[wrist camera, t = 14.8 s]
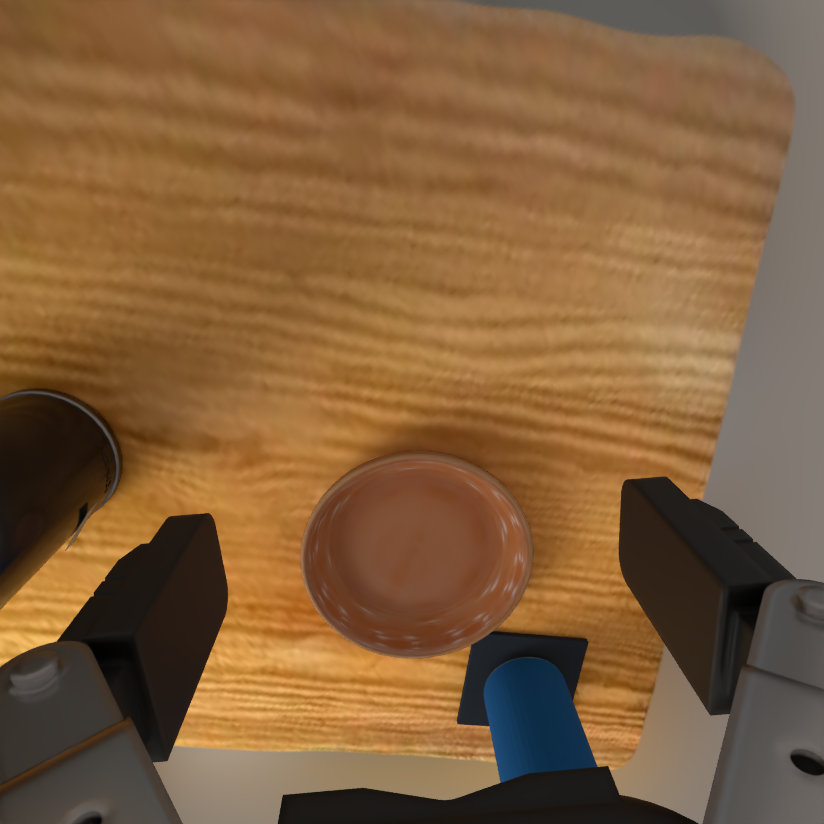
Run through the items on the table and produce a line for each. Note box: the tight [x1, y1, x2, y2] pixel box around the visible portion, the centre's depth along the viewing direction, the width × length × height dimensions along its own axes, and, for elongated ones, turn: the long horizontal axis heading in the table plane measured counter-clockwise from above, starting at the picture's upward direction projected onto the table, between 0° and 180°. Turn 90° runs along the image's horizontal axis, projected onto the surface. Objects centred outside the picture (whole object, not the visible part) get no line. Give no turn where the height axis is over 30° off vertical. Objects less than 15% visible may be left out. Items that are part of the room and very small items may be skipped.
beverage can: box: [484, 657, 597, 783], centre depth 42 cm, size 6×6×12 cm
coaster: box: [457, 631, 588, 726], centre depth 48 cm, size 9×9×1 cm
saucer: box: [301, 451, 533, 659], centre depth 42 cm, size 16×16×3 cm
